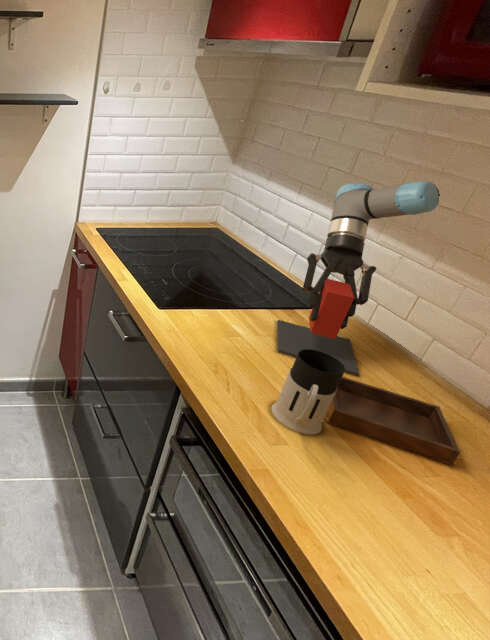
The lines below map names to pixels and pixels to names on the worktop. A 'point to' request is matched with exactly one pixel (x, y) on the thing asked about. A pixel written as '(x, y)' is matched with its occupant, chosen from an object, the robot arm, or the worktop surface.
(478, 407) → the worktop surface
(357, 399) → the dark brown wooden tray
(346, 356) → the mat
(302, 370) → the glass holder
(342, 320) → the block
